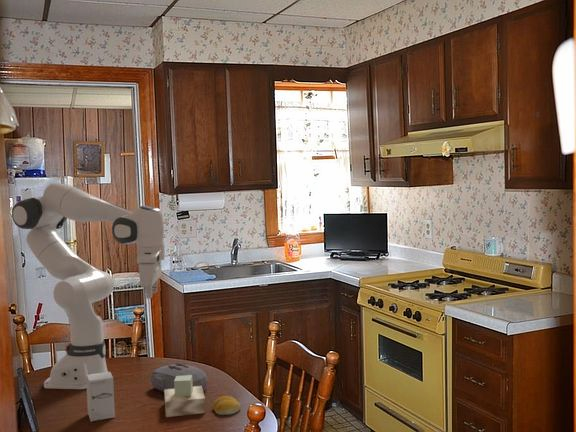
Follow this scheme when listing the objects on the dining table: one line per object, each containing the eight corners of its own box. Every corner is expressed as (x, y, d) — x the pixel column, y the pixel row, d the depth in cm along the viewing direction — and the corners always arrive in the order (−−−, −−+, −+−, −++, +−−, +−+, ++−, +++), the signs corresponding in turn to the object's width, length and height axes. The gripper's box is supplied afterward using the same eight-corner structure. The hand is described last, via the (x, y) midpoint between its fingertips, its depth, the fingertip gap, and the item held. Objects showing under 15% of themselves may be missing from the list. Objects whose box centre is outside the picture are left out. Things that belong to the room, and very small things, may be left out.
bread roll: (218, 417, 191) (217, 404, 191) (210, 408, 199) (210, 395, 199) (244, 413, 194) (243, 400, 194) (235, 403, 202) (235, 391, 202)
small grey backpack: (145, 390, 218) (185, 402, 205) (144, 366, 217) (184, 376, 205) (178, 378, 229) (218, 388, 217) (177, 356, 229) (217, 364, 216)
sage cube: (174, 396, 196) (174, 381, 196) (177, 391, 201) (176, 375, 201) (191, 396, 197) (190, 380, 196) (192, 390, 202) (192, 375, 201)
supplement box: (90, 422, 190) (88, 381, 189) (87, 414, 196) (85, 374, 196) (115, 418, 193) (113, 377, 192) (112, 410, 199) (110, 370, 199)
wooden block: (165, 418, 192) (165, 402, 192) (164, 404, 204) (164, 389, 204) (205, 414, 195) (204, 398, 194) (202, 400, 206) (201, 385, 206)
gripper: (147, 250, 223) (148, 289, 224) (135, 258, 202) (136, 301, 203) (165, 250, 223) (165, 289, 224) (155, 258, 202) (156, 301, 203)
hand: (151, 295), depth 213 cm, fingers open, 8 cm apart
